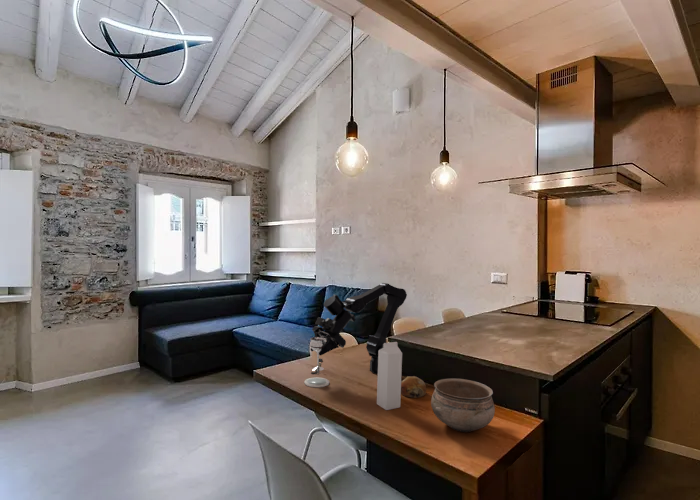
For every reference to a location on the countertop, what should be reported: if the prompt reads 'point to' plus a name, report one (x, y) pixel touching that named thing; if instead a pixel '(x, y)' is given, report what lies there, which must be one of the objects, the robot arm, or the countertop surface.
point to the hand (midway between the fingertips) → (315, 352)
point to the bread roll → (413, 387)
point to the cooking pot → (463, 404)
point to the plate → (316, 382)
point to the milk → (389, 376)
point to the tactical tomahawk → (318, 366)
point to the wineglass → (317, 348)
